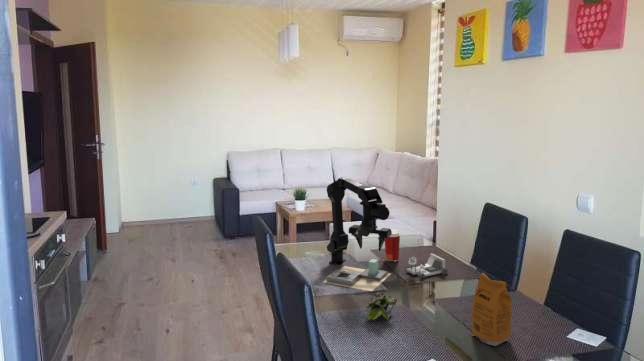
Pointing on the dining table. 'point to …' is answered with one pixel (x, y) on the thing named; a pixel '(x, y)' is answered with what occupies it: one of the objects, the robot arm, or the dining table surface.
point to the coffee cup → (392, 245)
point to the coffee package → (491, 310)
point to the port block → (348, 280)
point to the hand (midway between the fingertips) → (370, 249)
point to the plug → (373, 267)
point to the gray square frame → (379, 276)
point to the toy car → (427, 266)
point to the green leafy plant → (380, 306)
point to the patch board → (361, 280)
